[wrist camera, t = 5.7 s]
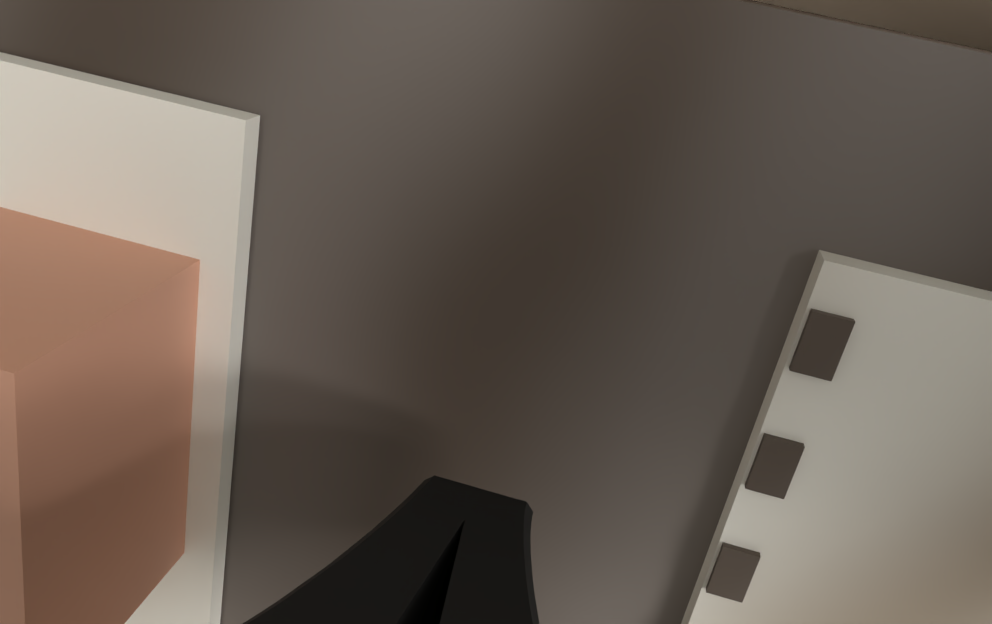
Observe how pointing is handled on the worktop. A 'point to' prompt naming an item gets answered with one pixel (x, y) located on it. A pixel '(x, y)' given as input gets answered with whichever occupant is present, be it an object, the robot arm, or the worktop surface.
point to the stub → (118, 345)
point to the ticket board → (602, 291)
